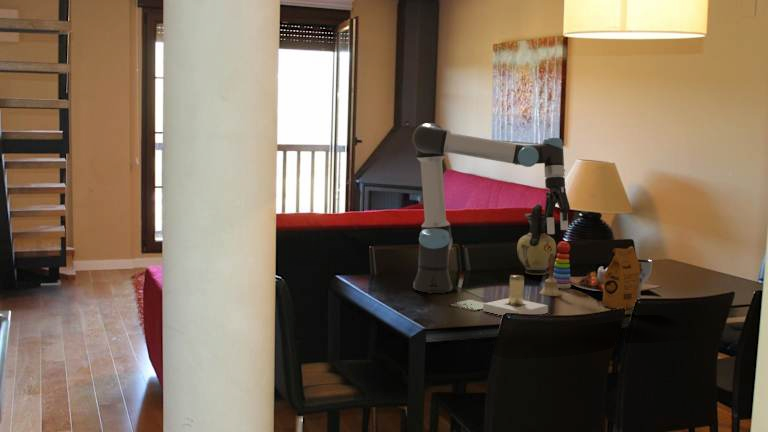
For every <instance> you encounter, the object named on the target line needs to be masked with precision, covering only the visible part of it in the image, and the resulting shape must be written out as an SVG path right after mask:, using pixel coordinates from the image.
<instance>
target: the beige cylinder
mask: <svg viewBox="0 0 768 432" xmlns="http://www.w3.org/2000/svg"><path fill="white" fill-rule="evenodd" d="M508 284H509V287H508V298H509V304H508V305H510V306H515V307H520V306H523V300H524V291H525V276H524V275H520V274H511V275H509V283H508Z"/></svg>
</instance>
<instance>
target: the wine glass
mask: <svg viewBox="0 0 768 432" xmlns="http://www.w3.org/2000/svg"><path fill="white" fill-rule="evenodd" d="M638 262H639V269H640V277H639V279H640V281H639V293H638V298H644V297H643V296H642V295H641V292H642V291H641V290H642V285H643V283H644V282H645V281H646V280H648V278H649V277H650V275H651V273H652V268H653V260H650V259H646V258H638Z"/></svg>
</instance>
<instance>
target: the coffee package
mask: <svg viewBox="0 0 768 432" xmlns="http://www.w3.org/2000/svg"><path fill="white" fill-rule="evenodd" d="M634 248H635V247H634V246H632V245H631V246H629V247H627V248H615V247H614V248H613V249H612V252H613V253H614V256H613V258H612V260H611V262H610V264H609V265H608V266H607V268H606V270H605V273H604V275H603V276H604V277H603V293H602V300H601V301H602V304H603V306H604V307H608V308H609V309H614V310H616V309H615V308H621V307H623V308H624V309H633V305H634V303H635V301H636V300H637V299H638V293H639V281H640V279H639V277H640V269H639V262H638V259H639V258H638V256H637V253H636V251H635V249H634Z"/></svg>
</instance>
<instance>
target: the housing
mask: <svg viewBox="0 0 768 432" xmlns="http://www.w3.org/2000/svg"><path fill="white" fill-rule="evenodd" d="M483 303H484V304H483V310H482V312H483V311H487V312H490V313H494V314H498V315H497V316H499V315H502V314H503V313H519V314H545V313H549V312H548V311H549V309H548V308H549V305H547V304H542V303H538V302H534V301H530V300H525V299H523V306H520V307H515V306H510V305H508V304H509V297H508V298H503V299H498V300H494V301H488V302H483ZM490 313H489V314H490ZM494 314H493V315H494ZM545 315H546V314H545Z"/></svg>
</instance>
